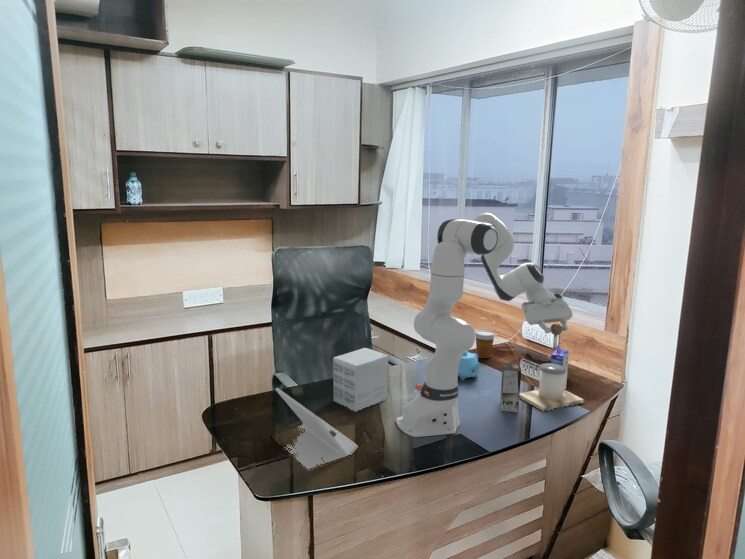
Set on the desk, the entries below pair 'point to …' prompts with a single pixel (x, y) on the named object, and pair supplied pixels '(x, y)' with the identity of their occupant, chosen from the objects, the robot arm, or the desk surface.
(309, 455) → the tablet stand
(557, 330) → the ball-topped rod
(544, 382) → the white jar with lid
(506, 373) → the coffee box
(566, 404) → the oak board
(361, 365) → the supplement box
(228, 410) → the desk surface
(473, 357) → the blue piggy bank
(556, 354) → the ink cartridge box
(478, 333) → the disposable coffee cup
